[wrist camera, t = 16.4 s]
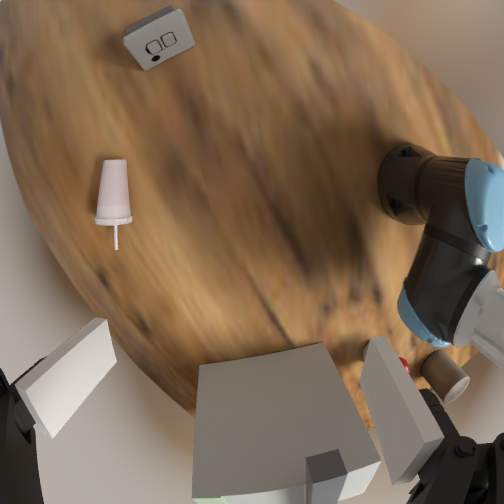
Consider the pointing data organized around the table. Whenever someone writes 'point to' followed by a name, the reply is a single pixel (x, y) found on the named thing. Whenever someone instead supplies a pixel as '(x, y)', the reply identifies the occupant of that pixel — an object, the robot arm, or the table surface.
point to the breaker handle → (325, 477)
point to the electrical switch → (158, 37)
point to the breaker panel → (275, 428)
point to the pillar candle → (444, 376)
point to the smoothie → (114, 196)
